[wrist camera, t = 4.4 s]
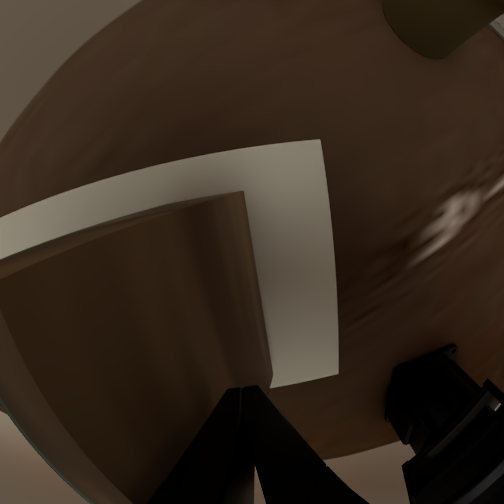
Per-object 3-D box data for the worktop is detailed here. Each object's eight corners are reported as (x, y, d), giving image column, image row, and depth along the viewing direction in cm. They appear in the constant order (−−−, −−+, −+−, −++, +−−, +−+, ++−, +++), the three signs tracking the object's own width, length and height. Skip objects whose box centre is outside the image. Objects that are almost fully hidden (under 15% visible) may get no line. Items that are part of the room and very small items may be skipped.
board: (314, 141, 14) (320, 139, 13) (334, 365, 17) (338, 373, 16) (-4, 221, 14) (-13, 223, 13) (56, 386, 17) (51, 393, 16)
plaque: (243, 190, 12) (-8, 282, 2) (273, 374, 15) (211, 559, 5) (166, 204, 13) (-55, 284, 3) (207, 372, 16) (115, 523, 6)
